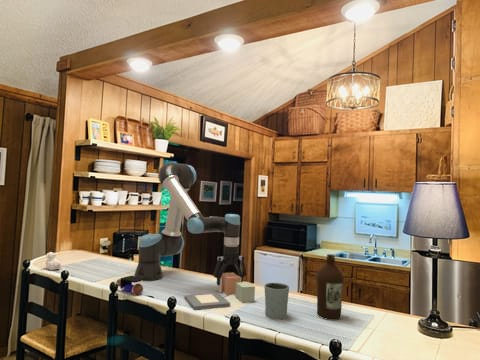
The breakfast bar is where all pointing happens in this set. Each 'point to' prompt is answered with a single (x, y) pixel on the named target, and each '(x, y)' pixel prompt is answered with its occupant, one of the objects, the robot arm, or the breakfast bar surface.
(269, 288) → the grey cup
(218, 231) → the robot arm
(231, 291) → the terracotta brick
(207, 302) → the slate board
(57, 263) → the duck figurine
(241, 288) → the sage brick
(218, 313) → the breakfast bar surface
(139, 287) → the figurine character
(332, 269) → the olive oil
